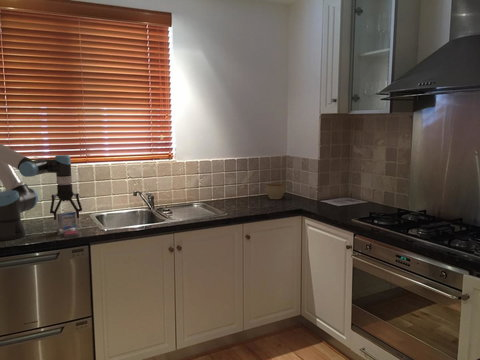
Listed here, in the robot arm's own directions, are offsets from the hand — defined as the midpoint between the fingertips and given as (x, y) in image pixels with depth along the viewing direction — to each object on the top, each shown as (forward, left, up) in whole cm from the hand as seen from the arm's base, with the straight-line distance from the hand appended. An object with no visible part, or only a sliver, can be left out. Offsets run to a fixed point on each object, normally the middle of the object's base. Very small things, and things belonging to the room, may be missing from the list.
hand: (67, 224), depth 227 cm
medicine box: (0, 0, -2) cm, 2 cm away
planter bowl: (+146, +42, -4) cm, 152 cm away
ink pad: (+2, -11, -3) cm, 11 cm away
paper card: (0, 0, -3) cm, 3 cm away
